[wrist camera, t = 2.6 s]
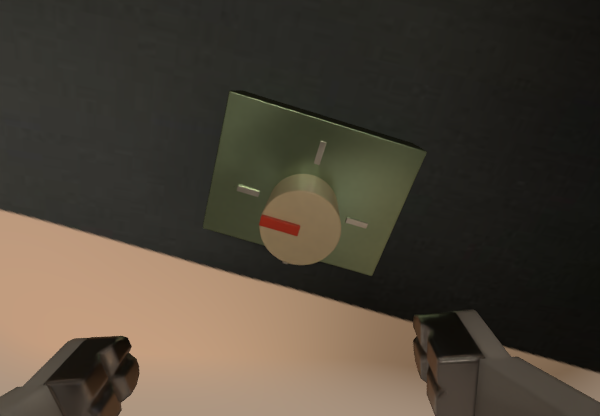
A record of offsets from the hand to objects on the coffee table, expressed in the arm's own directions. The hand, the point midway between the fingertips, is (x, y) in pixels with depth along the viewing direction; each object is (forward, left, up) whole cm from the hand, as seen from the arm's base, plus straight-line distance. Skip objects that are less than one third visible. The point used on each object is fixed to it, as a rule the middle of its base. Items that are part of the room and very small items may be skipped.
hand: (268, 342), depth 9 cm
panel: (-1, -1, -15) cm, 15 cm away
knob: (0, 0, -12) cm, 12 cm away
